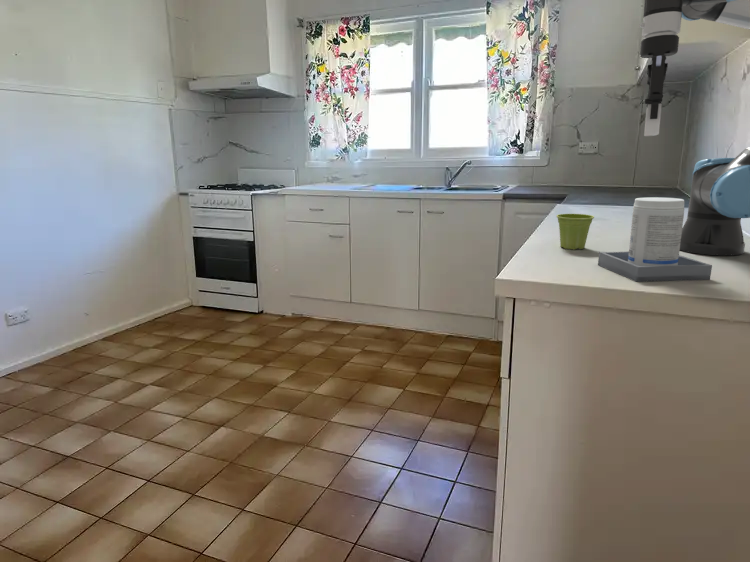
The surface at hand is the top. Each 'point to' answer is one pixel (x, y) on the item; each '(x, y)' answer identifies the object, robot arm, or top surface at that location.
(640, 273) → the tray
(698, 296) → the top surface
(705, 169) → the robot arm
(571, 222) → the plant pot
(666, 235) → the supplement tub
